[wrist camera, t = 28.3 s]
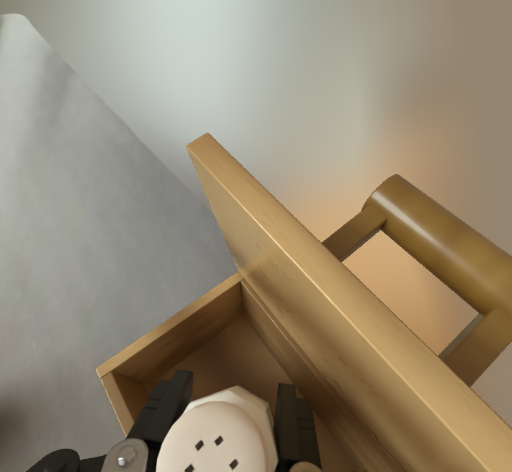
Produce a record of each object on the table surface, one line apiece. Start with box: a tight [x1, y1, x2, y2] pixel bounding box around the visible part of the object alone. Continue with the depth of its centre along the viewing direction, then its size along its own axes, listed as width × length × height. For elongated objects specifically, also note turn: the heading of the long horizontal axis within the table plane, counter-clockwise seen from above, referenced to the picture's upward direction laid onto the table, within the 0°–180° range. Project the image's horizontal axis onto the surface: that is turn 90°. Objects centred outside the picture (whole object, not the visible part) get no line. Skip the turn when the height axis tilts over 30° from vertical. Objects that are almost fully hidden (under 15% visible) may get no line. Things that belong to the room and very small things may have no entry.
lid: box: [186, 133, 512, 472], centre depth 10 cm, size 10×13×5 cm
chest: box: [96, 272, 401, 472], centre depth 16 cm, size 9×13×8 cm
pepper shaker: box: [156, 385, 279, 472], centre depth 12 cm, size 5×5×11 cm
